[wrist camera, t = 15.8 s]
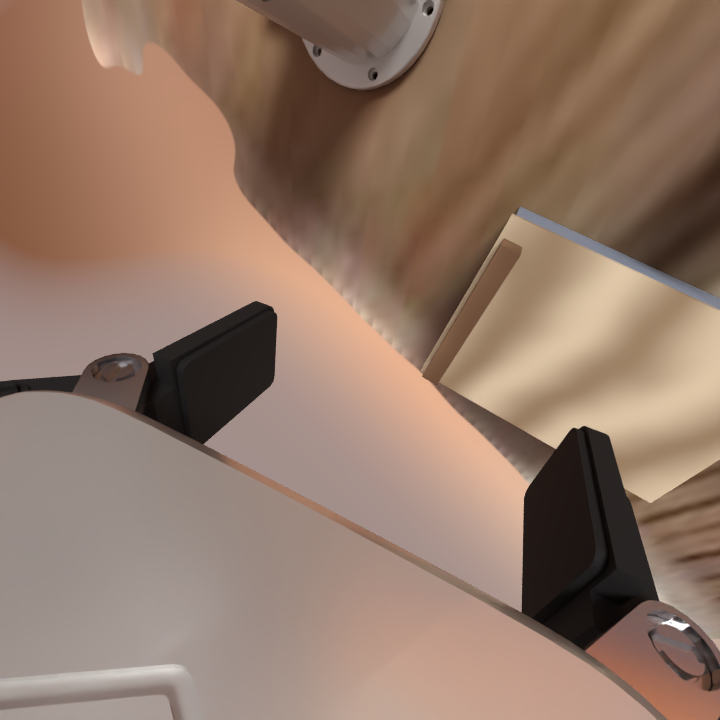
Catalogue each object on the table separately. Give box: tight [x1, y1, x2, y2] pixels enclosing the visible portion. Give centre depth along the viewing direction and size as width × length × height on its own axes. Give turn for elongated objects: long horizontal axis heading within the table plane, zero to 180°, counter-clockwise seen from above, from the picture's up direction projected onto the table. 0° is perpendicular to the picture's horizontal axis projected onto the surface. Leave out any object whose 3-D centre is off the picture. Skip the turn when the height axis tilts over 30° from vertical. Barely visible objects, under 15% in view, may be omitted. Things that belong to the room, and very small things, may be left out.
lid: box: [420, 214, 720, 503], centre depth 22 cm, size 19×13×3 cm
